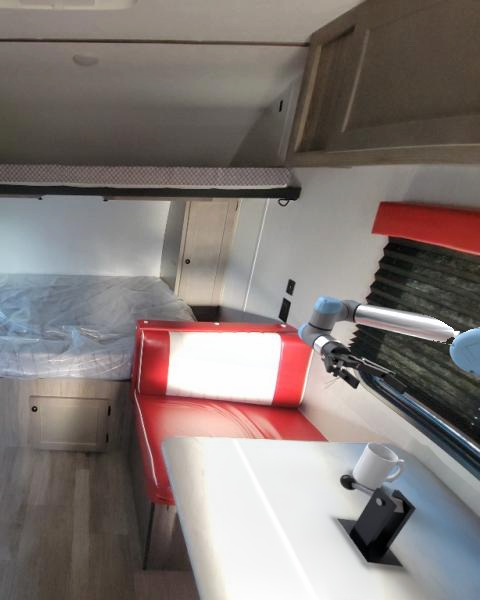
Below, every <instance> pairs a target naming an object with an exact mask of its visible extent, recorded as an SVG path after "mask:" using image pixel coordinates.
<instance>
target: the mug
mask: <svg viewBox="0 0 480 600" xmlns="http://www.w3.org/2000/svg"><path fill="white" fill-rule="evenodd" d="M396 465H397V466H398V469H397V471H396V472H394V474H392V475H390V474H391V473H392V472H393V469H394V468H395V467H396ZM404 472H405V459H401V458H399V457H398V455H397V454H396V453H395V452H394V451H393V450H391V449H390V448H389V447H386V446H384V445H382V444H380V443H376V442H367V444H366V446H365V447H364V449H363V451H362V453H361V456H360V458H359V460H358V462H357V463H356V465H355V467H354V469H353V472H352V477H354V478H355V479H356V481H357V483H359V485H361V486H363V487H365V488H367V489H369V490H371V491H375V490H376V488H382V486H383V485H384V483H388V484H392V483H393V482H395V481H396V480H397V479H399V478H400V477H401V476H402V475H403V474H404Z"/></svg>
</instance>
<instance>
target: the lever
mask: <svg viewBox="0 0 480 600" xmlns="http://www.w3.org/2000/svg"><path fill="white" fill-rule="evenodd" d="M339 483H340V485H341V487H342V488H344V489H345V490H347V491H356V490H357V491H359V492H362V493H364V494H366V495H368V496H370V497H372V495H373V493H374V492H375V490H372V489H369V488H367V487H365V486H363V485H362V484H360V483H359V482H358V481H357V480H356V479H355V478H354V476H353V475H351V474H342V475H341V476H340V478H339ZM358 483H359V484H358ZM387 495H388V496H389V497H390V499H391V500H392V501H393V502H394V503H395V504H396V505H397V508H396V509H395V511H394V512H402V513H403V501H402V500H400V499H397V498H395V497H393V496H391V494H387Z"/></svg>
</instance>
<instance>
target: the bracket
mask: <svg viewBox="0 0 480 600" xmlns="http://www.w3.org/2000/svg"><path fill="white" fill-rule="evenodd" d="M388 495H389V494H387V493H386V491H385V490H384V489H383V488H382V487H381V488H376V490H374V493H373V495H372V496H370V499H368V501H367V503H366V505H365V507H364V508H363V510H362V511H361V514H360V515H359V516H358V518H357V520H353V519H345V518H337V520H338V522H339V523H340V525H341V527H342V528H343V530H344V531H345V532H346V533H347V535H348V537H349V538H350V539H351V541H352V542H353V544H354V545H355V547H356V548H357V550H358V551H359V553H360V554H361V556H362V557H363V558H364V560H365V562H366V563H371V564H378V565H386V566H395V567H401V568H402V567H404V565H403V564H402V563H401V562H400V560H399V559H398V558H397V556H396V555H395V554H394V552H393V551H392V550H391V547H392V545H393V543H394V542H395V541H396V539H397V537H398V536H399V535H400V533H401V531H402V530H403V528H404V527H405V526H406V524H407V522H409V520H410V519H411V517H412V515H413V514H414V512H415V511H416V510H417V508H416V507H415V505H414V504H412V502H410V500H409V499H408V498H407V497H406V496H405V494H403V493H402V492H401V491H400V490H399V489H394V490H393V492H392V493H391V494H390V496H393V497H395V498H397V499H400V500H402V501H403V513H402V512H394V511H395V509H396V508H397V505H396V504H395V503H394V502H393V501H392V500H391V499H390V497H389V496H388Z"/></svg>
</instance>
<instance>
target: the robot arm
mask: <svg viewBox="0 0 480 600" xmlns="http://www.w3.org/2000/svg"><path fill="white" fill-rule="evenodd" d="M423 314H424V313H419V312H412V311H406V310H400V309H394V308H390V307H383V306H378V305H373V304H367V303H360V302H358V301H357V300H354V299H342V300H340V299H338V298H335V297H332V296H323V295H322V296H320V297H318V298H317V301H316V303H315V304H314V307H313V309H312V313H311V316H310V318H309V321H308V322H306V323H303V324H302V325H301V326H300V327H299V328H298V331H297V334H298V338H300V339H301V340H302V343H304V344H305V345H307V346H309V348H311V349H312V350H313V351H315V352H316V353H317V354H318V355H319V356H320V357H321V358H320V360H321V361H322V362H323V365H324V368H325V371H326V373H328V374H332V377H335V378H338V377H339V378H340V379H342V380H343V381H344V382H345V383H346V384H348V385H349V386H350V387H351V388H352V389H354V390H357V389H358V386H359V385H360V384H361V380H360V379H358V378H357V377H356V376H355V375H353V374H352V373H351V372H350V371H348V369H349V368H350V369H353V370H356V371H358V372H364V373H365V374H369V375H371V376H373V377H375V378H379V379H380V380H383V382H384V383H385V384H386V385H388V386H389V387H390V388H392V389H393V390H395V391H396V392H397V393H398V394H400V395H404V394H405V392H407V391H406V390H407V389H408V386H407V385H406V384H405V383H403V382H402V381H400V380H399V379H397V378H396V377H395V376H396V372H394V371H392V370H389V368H388V369H387V368H386V367H384V366H382V365H379V364H377V363H375V362H373V361H371V360H369V359H367V358H366V357H363V356H361V357H360V358H358V357H356V356H355V355H353V354H352V351H351V350H350V348H349V347H348V346H346V345H345V344H344V343H342V342H340V341H339V340H338V339H337V338H335V337H334V336H332V335H331V334H332V331H333V329H334V327H335V324H336V323H339V322H349V323H353V324H358V325H362V326H363V325H364V326H367V327H372V328H376V329H381V330H385V331H389V332H394V333H399V334H403V335H407V336H412V337H416V338H421V339H425V340H428V341H433V340H434V341H433V342H437V341H440V342H439V343H442V342H446V341H447V339H449V338H451V337H454V338H455V339H454V340H453V342H452V344H450V346H449V354H450V357H451V359H452V361H453V363H454V364H455V365H456V366H457V367H458V368H459V369H461V370H462V371H465V372H466V373H469V374H470V375H472V376H474V377H475V379H476V380H477V381H478V382H479V383H480V327H478V328H474V329H470V330H468V331H466V332H463V333H461V332H460V331H454V329H453V328H452V327H450V326H448V325H447V324H445V323H444V322H442V321H440V320H438V319H436V318H434V317H431V316H432V315H429V314H424V315H423ZM428 315H429V316H428ZM358 365H359V366H358ZM343 367H344V368H343ZM346 368H348V369H346Z"/></svg>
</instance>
